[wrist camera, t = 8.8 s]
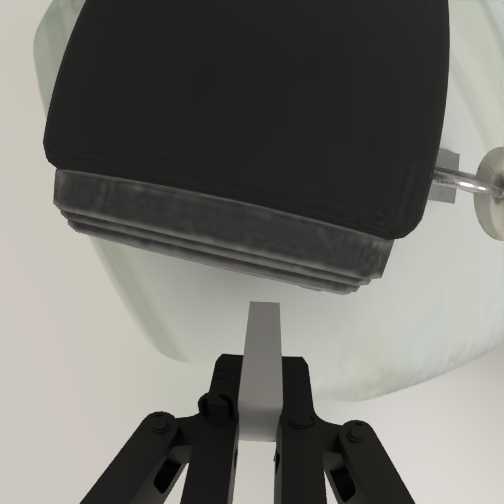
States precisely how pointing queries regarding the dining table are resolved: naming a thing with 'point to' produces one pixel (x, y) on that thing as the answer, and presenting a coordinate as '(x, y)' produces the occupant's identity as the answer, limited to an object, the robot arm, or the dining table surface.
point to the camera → (252, 131)
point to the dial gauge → (474, 187)
